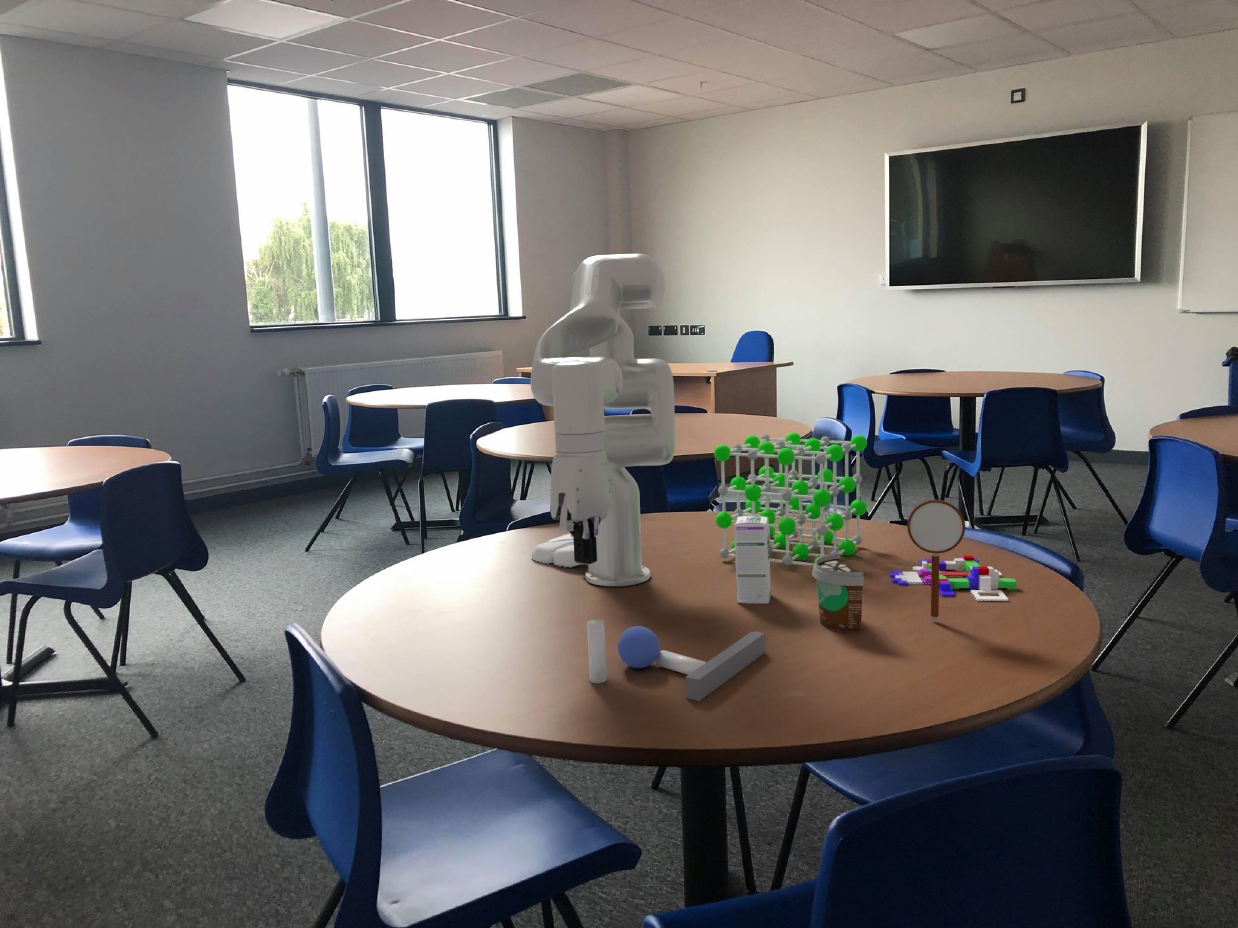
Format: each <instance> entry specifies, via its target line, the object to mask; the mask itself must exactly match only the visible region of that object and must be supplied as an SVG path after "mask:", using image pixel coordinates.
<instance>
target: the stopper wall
mask: <svg viewBox="0 0 1238 928" xmlns="http://www.w3.org/2000/svg"><path fill="white" fill-rule="evenodd" d="M765 639H766V638H765V633H763V632H759V631H751V632H749V633H748V634H746V635H744V636H743V637H742V638H740V639H739V640H737V641H736V642H734V643H733V644H732V645H730V646H728V647H727V648H726V649H724V650H723V651H722V652H720V653H717V655H715V656H714V657H712V658H711V659H709V660H708V661H706V662H707V663H705V664H704V665H702V666H701V667H699V668H698V669H696V670H695V671H693V672H692V673H690V674H689V675H686V676H685V697H686V698H685V699H688V700H693V701H696V702H701V701H702V700H703V699H705V698H706V697H707V696H708V695H710V694H711V693H712V692H714V691H715V690H717V689H718V688H719V687H720V686H722V685H723V684H725V683H727V682H728V680H729V681H730V679H731V678H733V677H735V675H737V674H738V673H740V672H741V671H742V670H744V669H745V668H747V667H748V666H749V665H750V664H751V663H753V662H754V661H755V660H757V659H759V657H761V656H762V655H764V654H765V652H766V648H765V644H766V643H765Z"/></svg>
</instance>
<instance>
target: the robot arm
mask: <svg viewBox="0 0 1238 928" xmlns="http://www.w3.org/2000/svg"><path fill="white" fill-rule="evenodd" d="M665 286H666V285H665V277H664V272H663V270H662V267H661V266H660V265H659V263H658V262H657V260H656V259H655V258H653V257H652V256H650V255H648V254H646V253H622V254H620V253H619V254H602V255H601V254H599V255H594V256H590V257H587V258H586V259H584V260H583V261H582V262H581V263H580V264H579V265H578V267H577V269H576V270H575V271H574V273H573V274H572V276H571V289H572V290H571V291H572V294H571V301H570V307H569V312H567V313H566V314H565V315H563V316H562V317H561V318H559V319H558V320H557V321H556V322H554V324H552V325H551V326H550V327H548V328H547V329H546V330H545V331H544V332H543V333H542V335H541V336H540V338H539V339H538V341H537V344H536V346H535V350H534V354H533V355H534V356H533V360H532V364H531V365H532V366H531V370H530V390H531V393H532V395H533V397H534V399H535V400H536V401H537V402H538V403H539V404H540V405H543V406H549V407H551V406H553V420H554V421H553V422H554V424H553V425H554V445H555V455H553V458H552V463H551V472H550V491H549V492H550V499H549V500H550V501H549V502H550V515H551V518H552V519H553V520H557V521H559V530H560V531H565V532H566V531H567V532H569V534H570V535H571V537H572V538H573V541H574V560H575V562H577V563H579V564H581V565H587V566H588V570H586V572H585V581H587V582H588V583H590V584H592V585H596V586H600V587H601V586H602V587H627V586H633V585H637V584H641V583H643V582H646V581H648V580H649V579H650V577H651V570H650V569H649V568H648V567H647V566H644V565H643V560H642V559H643V558H642V554H643V553H642V532H641V530H642V529H641V507H640V506H641V504H640V489H639V485H638V483H637V482H636V480H635V479H634V477H633V476H632V475H631V473H629V471H628V470H627V469H626V468H625V467H635V466H636V467H637V466H638V467H639V466H640V467H644V466H645V467H647V466H662V465H666V464H670V463H671V462H672V460H673V458H674V456H675V450H676V423H675V422H676V421H675V420H676V419H675V418H676V417H675V415H676V414H675V387H674V386H675V383H674V376H673V372H672V371H673V370H672V369H671V366H670V365H669V364H668V362H666V361H665V360H664V359H661V358H654V357H653V358H635V349H634V348H635V346H634V345H635V342H634V341H635V340H634V332H633V331H632V329H631V328H630V326H629V325H628V323H627V322H626V321H625V320H624V319H623V318H622V317H621V310H638V309H639V310H640V309H641V310H642V309H655V308H657V307H659V306H660V304H661V303H662V301H663V299H664V295H665V288H666V287H665ZM586 350H589V356H572V355H575V354H577V353H580V352H583V351H586ZM639 409H641V410H644V409H645V410H648V411H650V413H651V415H646V414H645V415H607V416H606V415H605V410H639Z"/></svg>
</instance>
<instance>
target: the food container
mask: <svg viewBox="0 0 1238 928" xmlns="http://www.w3.org/2000/svg"><path fill="white" fill-rule="evenodd" d="M826 555H827V556H823V557H820V558H818V557H817V558H818V559H817V560H816V559H815V560H816V563H815V564H814V563H813V564H814V567H813V566H812V567H813V569H812V572H811V575H812V577H813V578H814V579H816V587H817V588H816V589H817V598H818V599H817V600H818V601H817V602H818V613H819V614H818V615H819V623H820V625H821V626H823V628H826V629H829V630H832V631H836V632H843V633H861V632H862V613H863V612H862V611H863V592H864V591H863V589H864V588H863V587H864V586H865V578H864V572H863V571H855V570H854V568H853V567H852V566H851V565H850V564H848V563H845V562H843V561H842V560H841V554H832V555H829V554H826Z"/></svg>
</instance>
